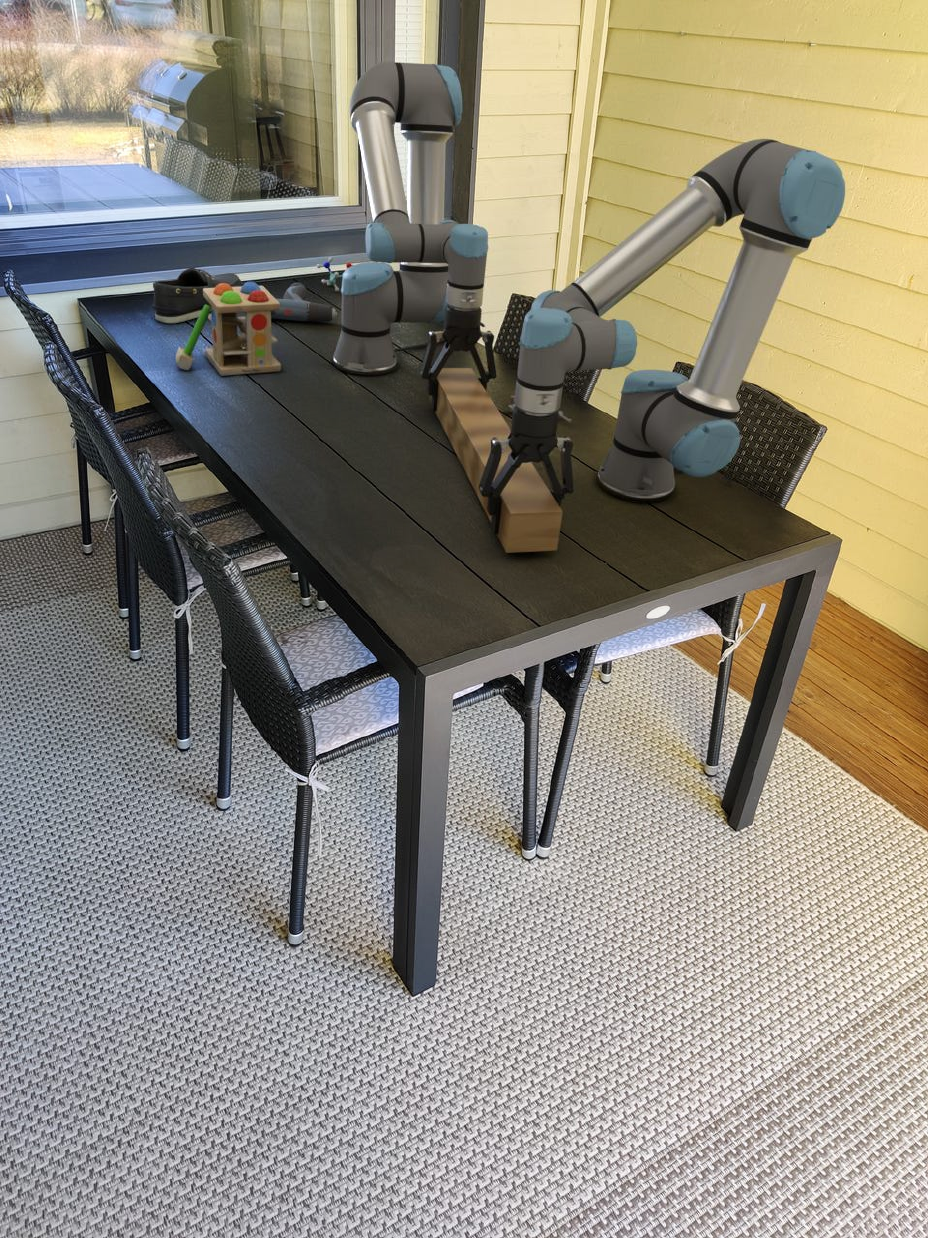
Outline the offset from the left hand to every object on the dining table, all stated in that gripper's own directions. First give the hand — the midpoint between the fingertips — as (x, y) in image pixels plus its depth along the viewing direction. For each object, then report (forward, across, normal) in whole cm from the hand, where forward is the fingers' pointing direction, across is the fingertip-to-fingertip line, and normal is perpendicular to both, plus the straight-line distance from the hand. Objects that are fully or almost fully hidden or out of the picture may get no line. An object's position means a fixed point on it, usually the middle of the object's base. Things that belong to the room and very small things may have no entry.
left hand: (455, 408), depth 214 cm
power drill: (+2, -26, +72) cm, 77 cm away
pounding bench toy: (+2, -48, +32) cm, 58 cm away
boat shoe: (+2, -54, +75) cm, 93 cm away
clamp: (+2, +18, 0) cm, 19 cm away
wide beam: (+1, 0, -27) cm, 27 cm away
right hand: (0, 0, -54) cm, 54 cm away
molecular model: (+3, -15, +96) cm, 98 cm away
